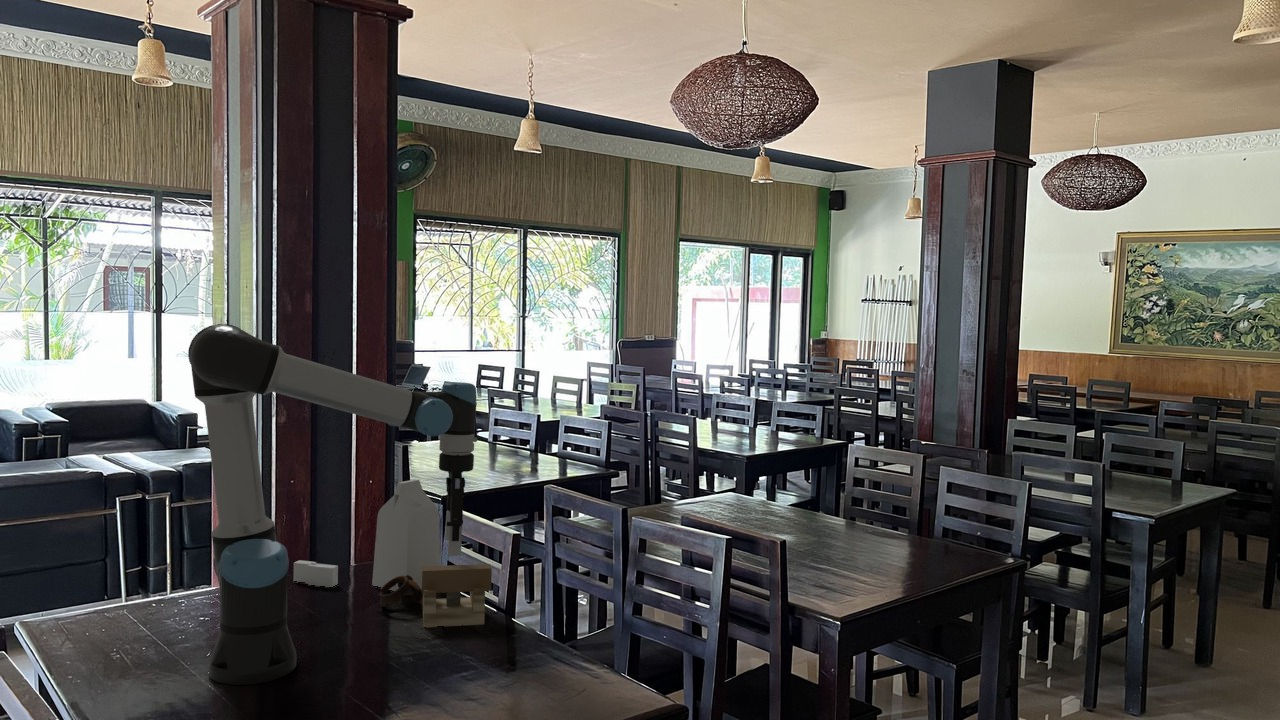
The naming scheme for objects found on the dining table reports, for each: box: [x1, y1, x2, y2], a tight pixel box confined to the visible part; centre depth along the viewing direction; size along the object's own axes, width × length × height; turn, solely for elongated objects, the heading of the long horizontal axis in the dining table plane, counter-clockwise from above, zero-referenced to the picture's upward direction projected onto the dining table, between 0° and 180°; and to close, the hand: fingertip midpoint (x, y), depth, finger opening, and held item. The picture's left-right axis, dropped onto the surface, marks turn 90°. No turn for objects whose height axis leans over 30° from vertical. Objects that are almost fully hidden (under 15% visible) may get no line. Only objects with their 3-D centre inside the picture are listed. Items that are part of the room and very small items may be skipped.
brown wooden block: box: [421, 563, 492, 594], centre depth 202 cm, size 4×15×5 cm, turn 104°
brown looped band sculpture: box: [378, 575, 423, 610], centre depth 210 cm, size 12×10×8 cm
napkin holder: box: [293, 559, 339, 588], centre depth 225 cm, size 15×11×6 cm
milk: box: [371, 479, 441, 592], centre depth 226 cm, size 12×12×26 cm
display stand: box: [422, 587, 486, 628], centre depth 203 cm, size 10×13×8 cm
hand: (452, 547), depth 202 cm, fingers open, 13 cm apart
